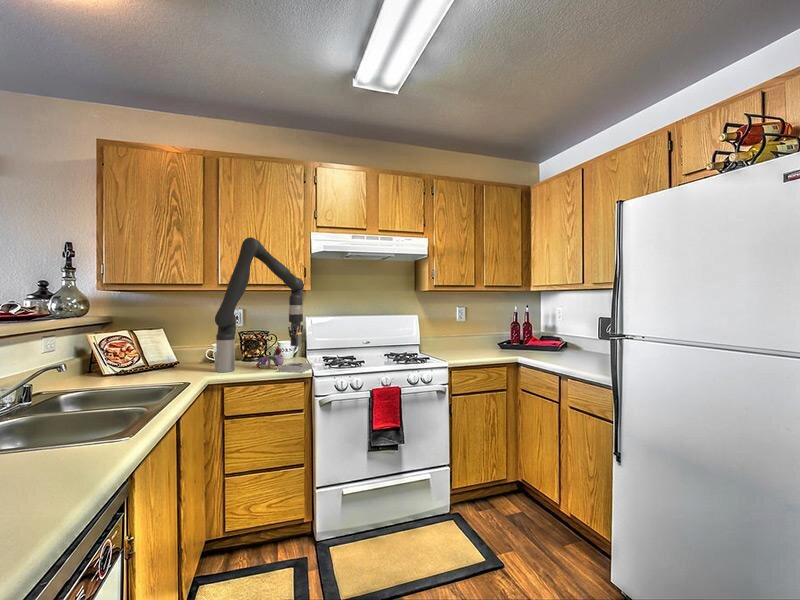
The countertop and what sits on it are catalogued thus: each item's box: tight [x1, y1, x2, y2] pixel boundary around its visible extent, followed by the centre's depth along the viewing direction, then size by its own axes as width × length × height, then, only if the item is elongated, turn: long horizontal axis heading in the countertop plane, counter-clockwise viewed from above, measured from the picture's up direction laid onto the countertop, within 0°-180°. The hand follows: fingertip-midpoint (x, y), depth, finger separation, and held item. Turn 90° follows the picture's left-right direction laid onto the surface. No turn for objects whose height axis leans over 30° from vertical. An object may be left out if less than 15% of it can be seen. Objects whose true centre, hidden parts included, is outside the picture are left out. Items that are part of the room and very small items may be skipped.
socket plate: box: [278, 362, 313, 374], centre depth 213 cm, size 13×13×3 cm
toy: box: [255, 347, 284, 370], centre depth 226 cm, size 10×15×15 cm
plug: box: [290, 332, 303, 347], centre depth 213 cm, size 4×4×7 cm
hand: (296, 344), depth 213 cm, fingers closed on plug, 4 cm apart
